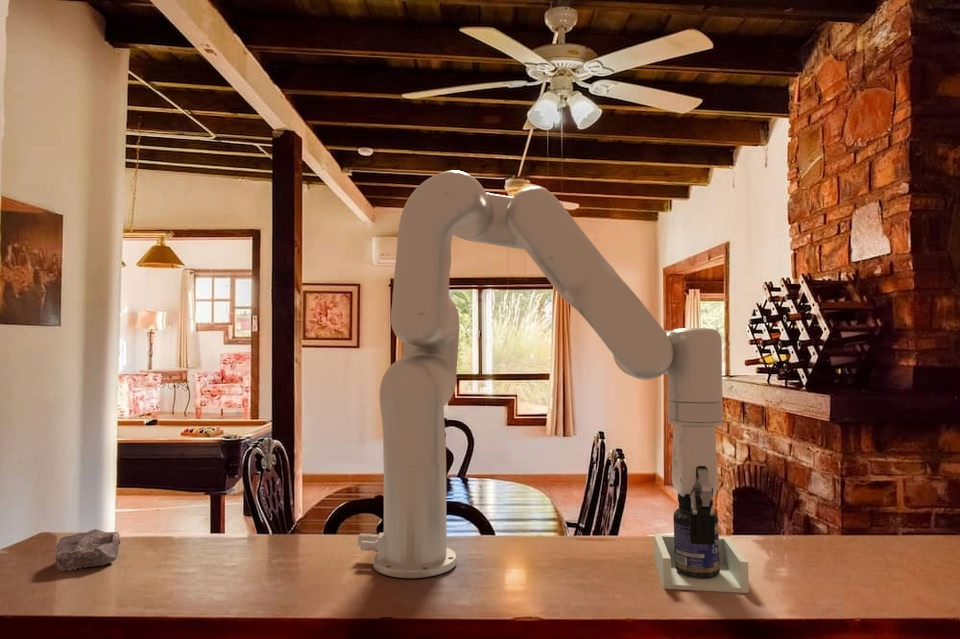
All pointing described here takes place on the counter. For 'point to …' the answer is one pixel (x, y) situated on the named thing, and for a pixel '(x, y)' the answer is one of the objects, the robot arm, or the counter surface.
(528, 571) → the counter surface
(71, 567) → the rock
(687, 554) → the pill bottle
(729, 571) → the holder
